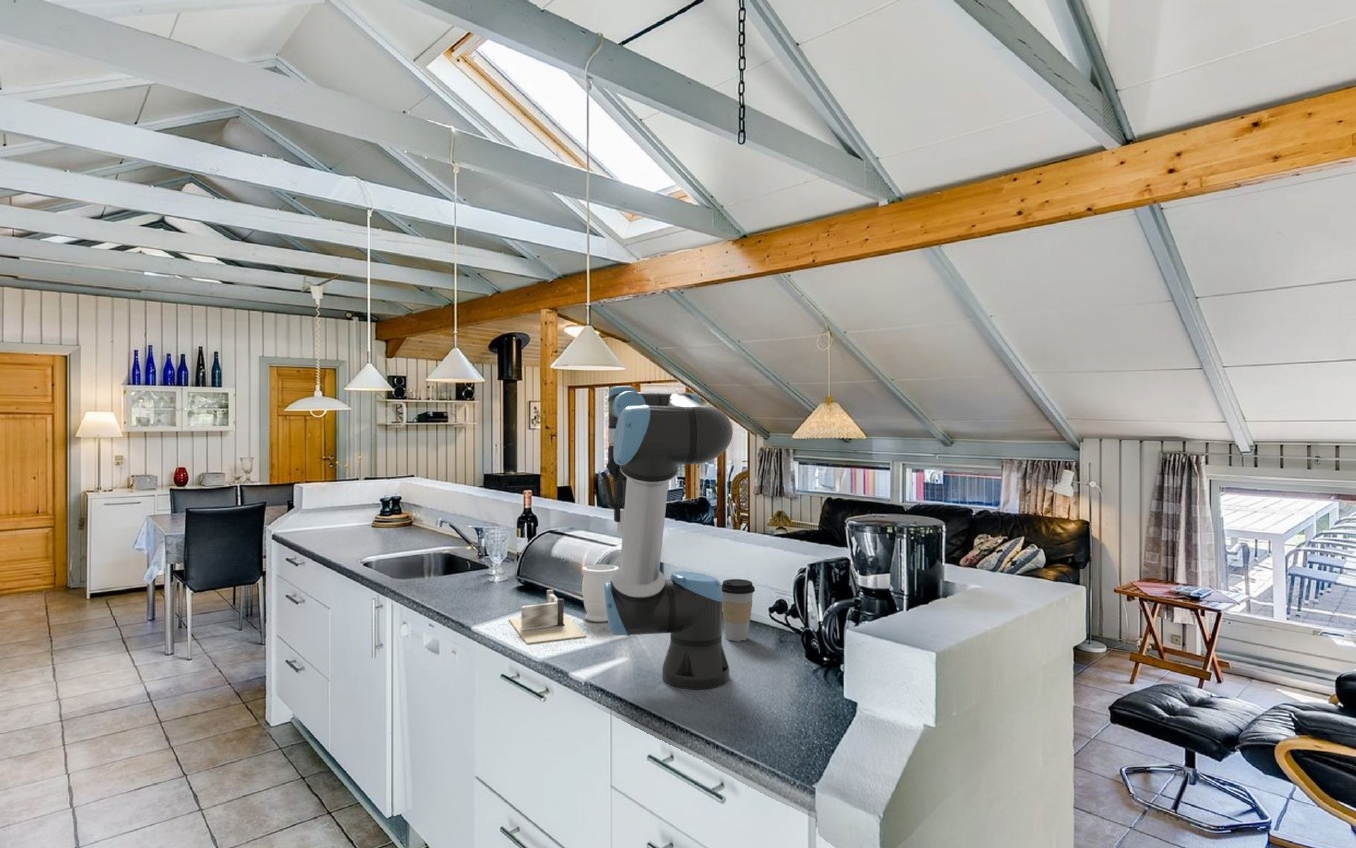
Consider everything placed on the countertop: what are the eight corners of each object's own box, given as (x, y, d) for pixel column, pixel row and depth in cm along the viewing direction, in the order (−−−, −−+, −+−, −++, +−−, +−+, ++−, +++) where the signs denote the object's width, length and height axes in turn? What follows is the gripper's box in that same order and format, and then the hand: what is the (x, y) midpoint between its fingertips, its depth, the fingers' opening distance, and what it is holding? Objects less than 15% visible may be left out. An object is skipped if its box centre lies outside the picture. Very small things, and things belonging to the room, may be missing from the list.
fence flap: (523, 630, 190) (523, 604, 190) (521, 628, 191) (521, 603, 191) (564, 624, 196) (564, 599, 196) (562, 622, 197) (562, 598, 197)
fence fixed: (565, 626, 196) (565, 600, 196) (557, 627, 195) (557, 601, 195) (553, 613, 208) (553, 589, 208) (545, 614, 207) (545, 590, 207)
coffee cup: (713, 640, 186) (714, 583, 186) (727, 631, 194) (728, 577, 194) (746, 645, 181) (747, 588, 181) (759, 636, 190) (760, 581, 190)
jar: (620, 614, 210) (621, 564, 210) (614, 624, 200) (615, 571, 200) (586, 613, 211) (586, 563, 211) (578, 622, 201) (578, 570, 201)
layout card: (586, 637, 187) (586, 635, 187) (526, 644, 180) (526, 642, 180) (562, 614, 209) (562, 612, 209) (508, 620, 202) (508, 618, 202)
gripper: (638, 445, 192) (638, 531, 191) (594, 444, 186) (593, 533, 185) (650, 445, 185) (649, 534, 185) (604, 445, 179) (603, 537, 179)
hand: (621, 534), depth 185 cm, fingers closed
